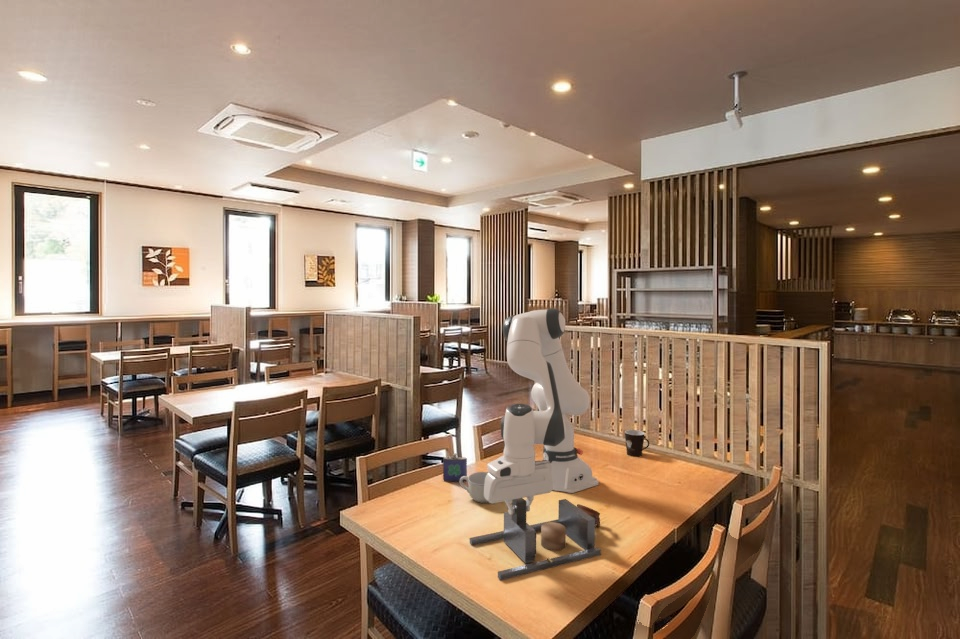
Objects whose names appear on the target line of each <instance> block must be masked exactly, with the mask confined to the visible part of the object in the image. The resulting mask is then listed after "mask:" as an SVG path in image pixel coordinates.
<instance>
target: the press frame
mask: <svg viewBox="0 0 960 639" xmlns="http://www.w3.org/2000/svg"><path fill="white" fill-rule="evenodd" d="M548 522H555V523H560V524H562V525H564V526H565V528H566V536H567V537H568V538H569V539H571V541H573V542H574V543H576V544H577V545H578V546H579V547H580V548H582V550H580V551H576V552H572V553H569V554H568V553H567V554H564V555H560V556H556V557H553V558H550V557H546V559H543V560H541V561H534V562H530V563H526V564H523V565H519V566H515V567H512V568H507V569H503V570H498V571H497V578H498V580H499V581H504V580H508V579H513V578H515V577H520V576H523V575H527V574H532V573H535V572H539V571H542V570H543V571H544V570H547V569H551V568H555V567H558V566H563V565H566V564H571V563H575V562H579V561H583V560H586V559H590V558H594V557H598V556H601V554H602V551H601V550H602V549H600V548H599V547H596V541H595V540H596V526H595V519H594V518H593V517H591V516H590V515H588V514H587V513H585V512H584V511H582V510H581V509H580V508H578V507H577V505H575V503H572V502H571V501H569V500H568V499H566V498H563V499H559V500H558V517H557V519H553V520H548V521H544V522H539V523H533V524H529V525H530V526H531V527H532V528H533V529H534V530H535V532H536V533H537V532H539V531H540V532H541V526H542V525H543V524H545V523H548ZM498 540H504V530H502V531H496V532H493V533H487V534H482V535H479V536H473V537H470V538H469V544H470V545H471V546H475V545H479V544H485V543H488V542H493V541H498Z"/></svg>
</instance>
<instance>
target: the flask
mask: <svg viewBox="0 0 960 639" xmlns="http://www.w3.org/2000/svg"><path fill="white" fill-rule="evenodd" d="M457 455H458V453H457V452H456V453H453V455H452V456H450V455H448V456H444V457H443V460H442V468H443V469H442V471H443V473H442V474H443V476H442V480H444V481H443V482H445V483H446V482H447V483H448V482H449V483H460V478H461V477H462V476H467V477H468V468H467V465H468V464H467V463H468V459H467V457H465V456H463V457H458V456H457ZM462 482H463V483H464V482H465V483H466V482H467V480H466V479H463V480H462Z"/></svg>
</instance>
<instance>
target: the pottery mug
mask: <svg viewBox="0 0 960 639" xmlns="http://www.w3.org/2000/svg"><path fill="white" fill-rule="evenodd" d="M576 506H577V507H578V508H580V509H581V510H582V511H584V512H585V513H587V514H588V515H590V516H591V517H593V518H594V519H595V527H597V528H600V526H601V519H600V516H601V513H600V512H598V511H597V510H595V509H592V508H591V507H588V506H585V505H582V504H576Z"/></svg>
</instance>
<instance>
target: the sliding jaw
mask: <svg viewBox="0 0 960 639" xmlns="http://www.w3.org/2000/svg"><path fill="white" fill-rule="evenodd" d="M511 506H514V507H515V508H516V511H515V512H516V514H513V515H510V514H509V513H508V511H505V512H503V531H504V539H503V542H504V543H505V544H506V545H507V546H508V547H509V548H510V550H512V552H513V553H515V554H516V555H517V556H518V557H519V558H520V559H521V561H522V562H524V563H525V564H530V563H534V562H536V555H537V531H536V532H535V530H534V529H533V528H532V527H531V526H530V525H531V524H529V523H528V522H527V512H526V500H525V498H519V499H513V500H512V503H511Z"/></svg>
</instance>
